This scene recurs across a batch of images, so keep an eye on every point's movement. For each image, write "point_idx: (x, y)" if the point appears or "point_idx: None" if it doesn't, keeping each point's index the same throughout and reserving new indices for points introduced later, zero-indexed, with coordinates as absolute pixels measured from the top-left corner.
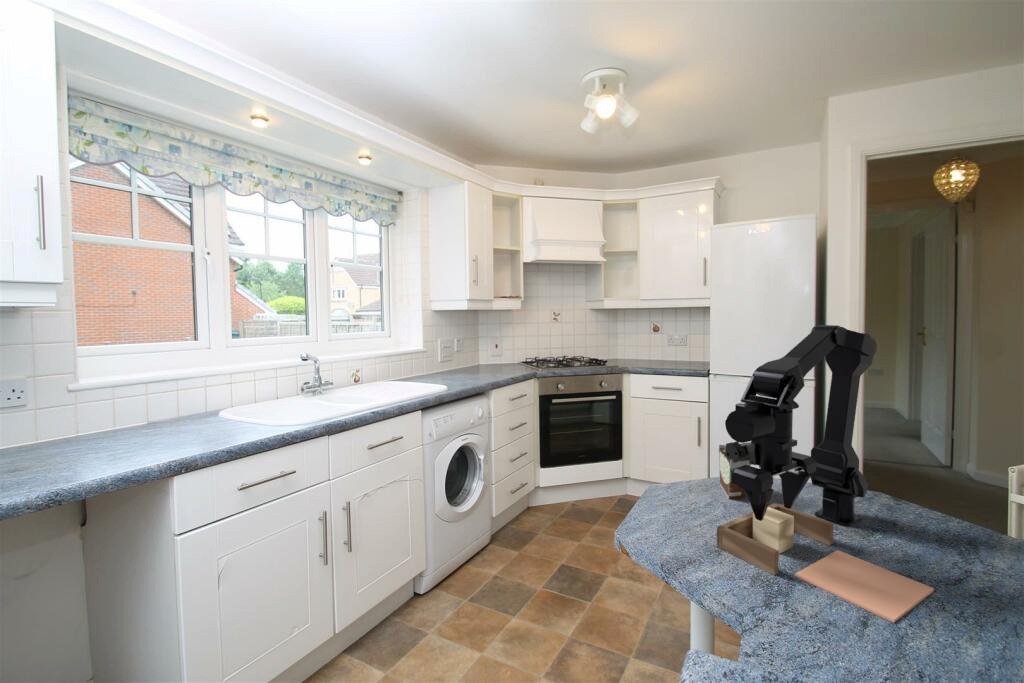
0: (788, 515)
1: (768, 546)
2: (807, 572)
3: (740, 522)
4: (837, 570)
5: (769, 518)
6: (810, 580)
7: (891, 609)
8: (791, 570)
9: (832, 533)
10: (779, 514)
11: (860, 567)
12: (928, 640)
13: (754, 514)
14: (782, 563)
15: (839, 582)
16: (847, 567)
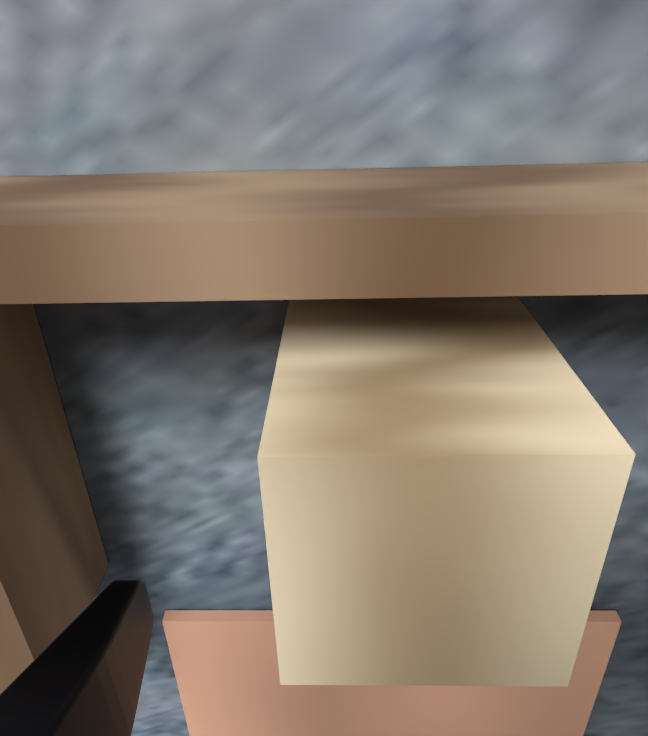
0: (547, 657)
1: (24, 650)
2: (234, 640)
3: (159, 299)
4: (383, 688)
5: (299, 608)
6: (178, 670)
7: None
8: (201, 580)
9: None
10: (496, 612)
11: (504, 717)
12: None
13: (73, 623)
14: (221, 530)
15: (286, 719)
16: (453, 696)
